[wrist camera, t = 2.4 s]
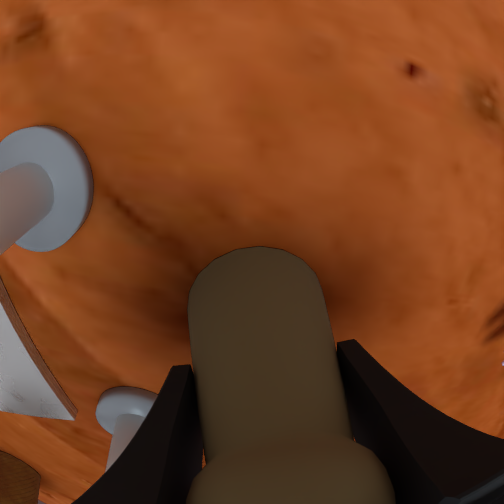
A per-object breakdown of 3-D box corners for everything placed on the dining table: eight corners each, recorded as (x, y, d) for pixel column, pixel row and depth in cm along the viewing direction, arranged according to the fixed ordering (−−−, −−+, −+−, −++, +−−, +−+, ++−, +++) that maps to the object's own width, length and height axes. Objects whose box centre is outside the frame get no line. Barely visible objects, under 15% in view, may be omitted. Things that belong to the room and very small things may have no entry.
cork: (312, 354, 16) (375, 561, 6) (191, 358, 15) (184, 584, 5) (332, 246, 13) (482, 497, 3) (182, 246, 13) (130, 558, 3)
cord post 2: (187, 432, 18) (185, 588, 8) (118, 432, 18) (97, 575, 8) (163, 384, 16) (147, 580, 6) (86, 386, 16) (42, 554, 6)
